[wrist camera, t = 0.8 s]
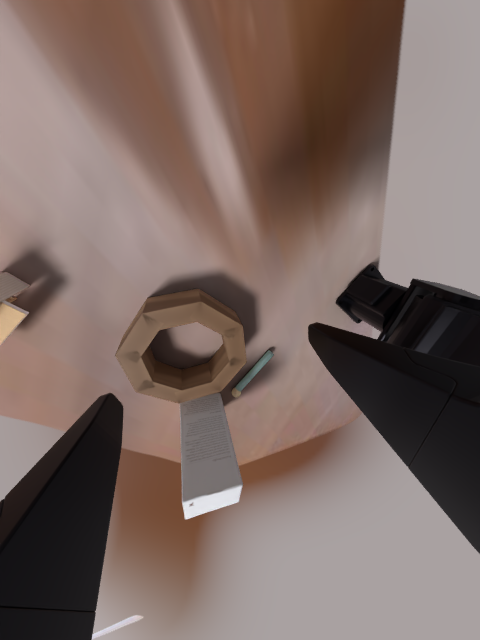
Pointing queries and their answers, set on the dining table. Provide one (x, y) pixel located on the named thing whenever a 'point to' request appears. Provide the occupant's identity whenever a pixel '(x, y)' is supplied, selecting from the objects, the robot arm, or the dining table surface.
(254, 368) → the teal thin rod
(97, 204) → the dining table surface
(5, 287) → the architectural model
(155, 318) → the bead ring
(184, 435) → the skincare box
